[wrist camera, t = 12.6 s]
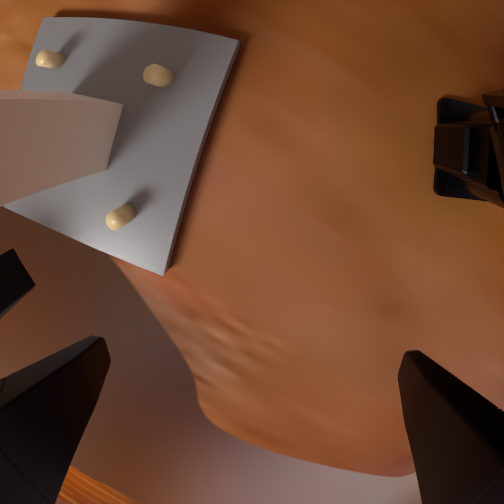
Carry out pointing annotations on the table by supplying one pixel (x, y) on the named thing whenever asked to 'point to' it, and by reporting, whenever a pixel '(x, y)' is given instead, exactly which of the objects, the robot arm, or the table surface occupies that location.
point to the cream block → (52, 139)
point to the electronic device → (12, 281)
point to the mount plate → (130, 128)
